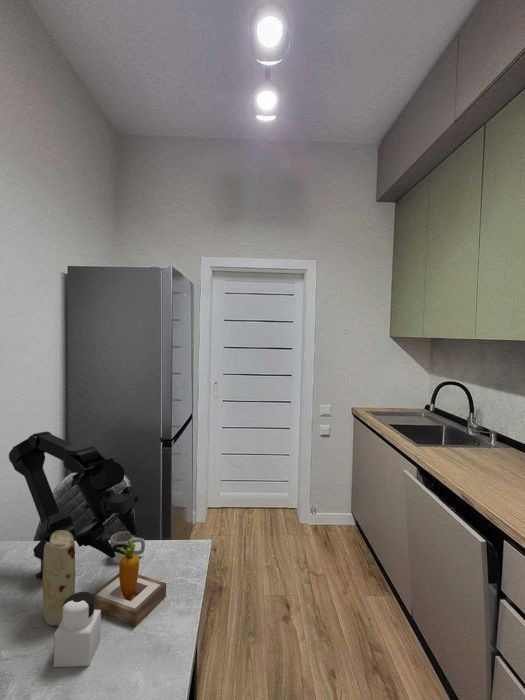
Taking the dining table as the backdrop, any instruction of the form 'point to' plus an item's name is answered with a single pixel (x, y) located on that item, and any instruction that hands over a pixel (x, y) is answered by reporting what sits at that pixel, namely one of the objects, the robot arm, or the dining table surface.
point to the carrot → (128, 571)
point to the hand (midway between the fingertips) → (124, 545)
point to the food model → (58, 575)
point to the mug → (123, 545)
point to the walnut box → (125, 612)
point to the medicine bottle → (77, 632)
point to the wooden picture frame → (142, 590)
